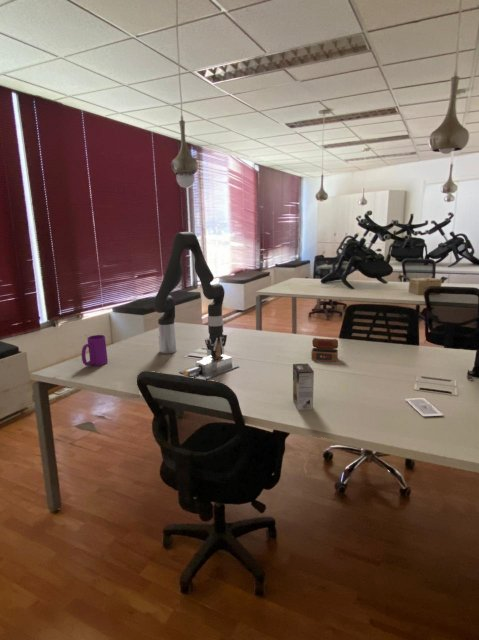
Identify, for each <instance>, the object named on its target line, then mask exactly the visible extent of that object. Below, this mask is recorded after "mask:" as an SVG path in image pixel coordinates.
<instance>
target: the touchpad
mask: <svg viewBox="0 0 479 640" xmlns="http://www.w3.org/2000/svg"><path fill="white" fill-rule="evenodd" d="M404 400H405V401H406V402H407V404H409V405H410V406H412V407H413V409H415V410H416V411H417V413H419V414H420V415H421V416H422V417H434V416H435V417H437V416H444V413H442V412H441V411H439V409H437V408H436V407H435V406H433V405H432V403H430V402H429V401H428V400H427V399H425V398H424V397H417V398H414V397H413V398H404Z"/></svg>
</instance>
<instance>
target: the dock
mask: <svg viewBox="0 0 479 640" xmlns="http://www.w3.org/2000/svg"><path fill="white" fill-rule="evenodd" d="M198 366H202V371H199V372H196V373H194V374H191V375H188V376H187V377H189V378H192V377H195V378H202V379H208V380H210V379H213V378H216V377H218V376H220V375H223V374H226V373H229V372H230V371H233V370H235V369H238V368H240V365H237V364H234V363H233V357H232V356H230V355H226V354H224V355H223V354H222V355H221V359H219V360H215V359H213V357H212V356H211V355H210V356H207V355H206V356H204V357H202V358H201V360H198V361H195V365H194V366H191V367H188V368H186V369H183V370H179V372H178V373H179V374H182V375H183V372H184V371H186V370H189V369H192V368H195V367H198ZM195 378H194V379H195Z"/></svg>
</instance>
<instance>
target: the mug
mask: <svg viewBox="0 0 479 640" xmlns="http://www.w3.org/2000/svg"><path fill="white" fill-rule="evenodd" d="M87 348H88V354H89V361H87V357H86V350H87ZM81 361H82V364H83V365H85V366H89V367H90V366H93V367H94V366H95V367H98V366H99V367H100V366H104V365H107V363H108V361H109V360H108V351H107V344H106V336H105V335H103V334H97V335H96V334H95V335H90V336H89V337H87V343H85V344H84V345H83V346H82V348H81Z"/></svg>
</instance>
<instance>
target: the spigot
mask: <svg viewBox="0 0 479 640" xmlns="http://www.w3.org/2000/svg"><path fill="white" fill-rule="evenodd" d="M213 344H214V343H213ZM215 351H216V357H215V358H214V357H213V359H215V360H219V359H221V345H220V341H217V345H216V348H215Z"/></svg>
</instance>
